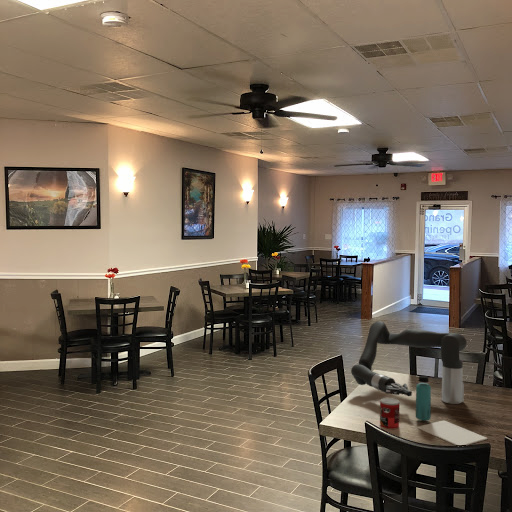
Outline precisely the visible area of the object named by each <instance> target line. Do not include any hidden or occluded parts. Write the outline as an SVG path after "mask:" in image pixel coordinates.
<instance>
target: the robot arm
mask: <svg viewBox="0 0 512 512" xmlns="http://www.w3.org/2000/svg"><path fill="white" fill-rule="evenodd" d="M467 343H468V342H467V340H466V338H465V336H463V335H462V334H461V333H459V332H438V331H437V332H436V331H432V330H425V329H418V328H408V329H407V328H406V329H404V330H402V331H401V332H399V333H393V332H390V331H389V328H388V327H387V325H386V323H385V322H384V321H379V320H378V321H375V322H373V323H372V324H371V325H370V327H369V330H368V334H367V339H366V342H365V345H364V349H363V351H362V353H361V356H360V357H359V359H358V364H354V365H352V367H351V369H350V373H351V376H352V377H353V378H354V380H355V382H356V383H357V384H358V385H360V386H364V385H367V386H369V387H372V388H373V389H376V390H377V391H380V392H383V393H385V394H390V395H396V396H399V395H405V396H407V397H411V396H412V395H413V392H412V390H410V389H409V387H408V385H407V383H402V384H401V383H398V382H396V381H395V379H394V378H393V377H389V376H387V375H384V374H382V373H378V372H374V371H373V370H372V369H373V368H372V366H373V365H374V362H375V361H376V357H377V351H378V350H377V349H378V344H380V345H397V346H407V347H411V348H420V349H421V348H422V349H423V348H426V349H427V348H440V359H441V362H442V368H441V369H442V371H441V372H442V373H441V375H442V376H441V401H442V402H443V403H446V404H451V405H459V404H461V403H463V402H464V397H465V396H464V395H465V394H464V393H465V392H464V390H465V389H464V388H465V387H464V386H465V382H464V381H463V371H464V370H463V369H464V368H463V367H464V366H463V363H464V362H463V361H462V360H461V358H460V352H461V351H463V350H464V349H465V348H466V347H467Z"/></svg>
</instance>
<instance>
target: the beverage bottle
mask: <svg viewBox="0 0 512 512" xmlns="http://www.w3.org/2000/svg"><path fill="white" fill-rule="evenodd" d="M418 382H419V383H417V384H416V386H415V389H416V390H415V410H414V411H415V418H416V419H417V420H419V421H430V420H431V416H432V415H431V414H432V406H431V405H432V404H431V403H432V401H431V400H432V387H431V385H430V384H429V382H430V381H429V376H427V375H419V376H418Z"/></svg>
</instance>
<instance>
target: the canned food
mask: <svg viewBox="0 0 512 512" xmlns="http://www.w3.org/2000/svg"><path fill="white" fill-rule="evenodd" d="M379 403H380V404H379V405H380V406H379V424H380V427H382V428H384V429H389V430H395V429H399V426H400V405H401V404H400V400H399V399H397V398H392V397H383V398H381V399H380V402H379Z"/></svg>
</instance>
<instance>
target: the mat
mask: <svg viewBox="0 0 512 512" xmlns="http://www.w3.org/2000/svg"><path fill="white" fill-rule="evenodd" d="M416 428H417V429H419V430H421V431H423V432H426V433H427V434H430V435H432V436H434V437H436V438H439V439H441V440H443V441H445V442H447V443H450V444H452V445H454V446H456V445H466V446H468V445H473V444H476V443H479V442H483V441H485V440H488V437H486V436H484V435H481V434H478V433H476V432H474V431H471V430H469V429H467V428H464V427H461V426H459V425H457V424H454V423H452V422H449V421H447V420H439V421H435V422H431V423H428V424H423V425H419V426H417V427H416Z"/></svg>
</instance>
